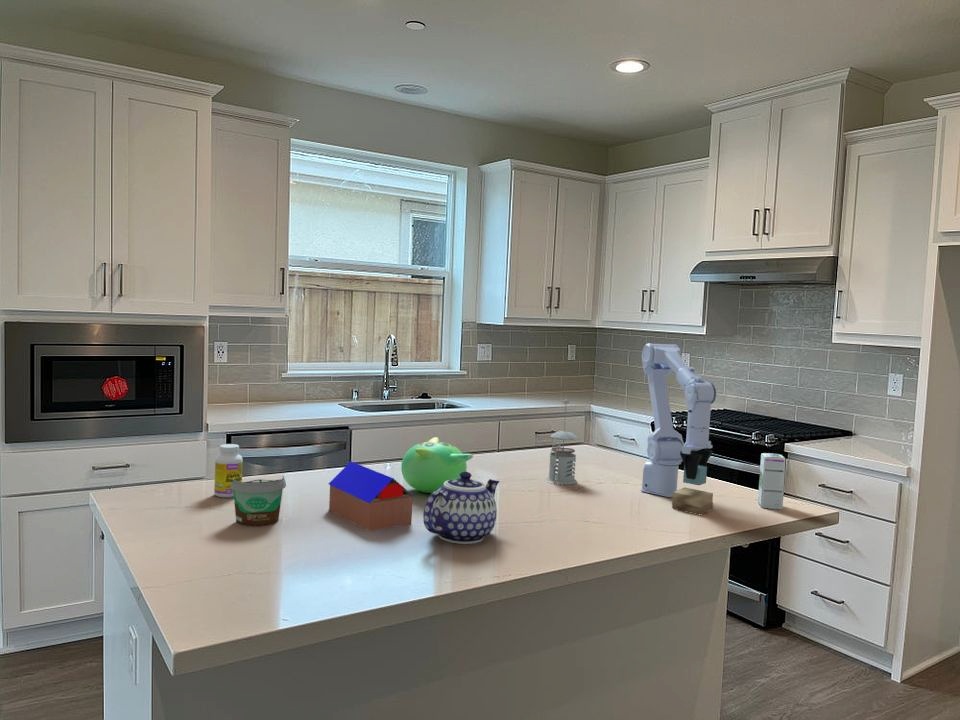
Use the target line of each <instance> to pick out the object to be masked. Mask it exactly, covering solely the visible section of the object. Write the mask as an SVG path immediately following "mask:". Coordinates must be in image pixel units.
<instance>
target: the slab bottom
mask: <svg viewBox="0 0 960 720" xmlns="http://www.w3.org/2000/svg"><path fill="white" fill-rule="evenodd" d="M671 504H672V505H671V509H672V508H673V509H672V510H676V509H678V510H677V511H680V510H682V511H681V512H685V511H687V512H686V513H689V512H692V513H691V514H694V513H696V514H695V515H698V514H700V515H699V516H702V515H704V514H706V513H708V512H710V511H712V510H713V509H714V508H713V507H714V502H713V501H712V503H710V504H708V505H706V506H703V507H696V506H692V505H687V504H682V503H678V502H673V501H672V502H671ZM711 509H712V510H711ZM709 510H710V511H709ZM707 511H708V512H707ZM705 512H706V513H705ZM703 513H704V514H703ZM701 514H702V515H701Z"/></svg>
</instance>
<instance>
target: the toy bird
mask: <svg viewBox="0 0 960 720" xmlns="http://www.w3.org/2000/svg"><path fill="white" fill-rule="evenodd" d="M473 457H474V456H473V454H471V453H463V452H462V451H461V450H460V449H459V448H458V447H457V446H454V445H452V444H450V443H447V442H443V441H440V439H439V437H436V436H435V437H432V438H430V439H429V440H427V441H425V442H421V443H417V444H415V445H413V446H412V447H410V448H409V449H408V450H407V451H406V452H405V454H404V455H403V458H402V460H401V466H400V468H401V469H400V471H401V475H402V478H403V479H404V480H405V482H406V483H407V485H409V487H411V488H412V489H415V490H416V491H420V492H422V493H427V494H428V493H429V494H432V493H433V492H434V491H437V490H438V489H439V488H440V487H442V486H443V485H444V482H445V481H448V480H452V479H458V478H461V477H460V473H461V472H467V468H468V467H467V462H468V461H470V460H471V459H473Z"/></svg>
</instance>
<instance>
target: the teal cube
mask: <svg viewBox="0 0 960 720" xmlns="http://www.w3.org/2000/svg"><path fill="white" fill-rule="evenodd" d="M707 473H708V466H707V465H706V466H702V465H698V469H697V474H696V478H695V479H689V478H687V477H686V471H685V466H683V479H682V482H683V484H689V485H694V486H702V485H704V484H706V483H707V476H708V475H707Z"/></svg>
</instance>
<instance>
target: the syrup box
mask: <svg viewBox="0 0 960 720" xmlns="http://www.w3.org/2000/svg"><path fill="white" fill-rule="evenodd" d="M759 464H760V466H759V481H758V499H757V500H758V501H757V503H758V504H759V506H760V507H761V508H762V509H767V508H768V510H769V509H770V510H777V509H778V510H781V511H782V510H783V507H784V506H783V505H784V492H785V490H784V489H785V478H786V477H785V475H786V472H785V471H786V458H785V456H783V454H779V453H772V452H771V453H770V452H768V453H767V452H763V453H761V454H760V463H759Z"/></svg>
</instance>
